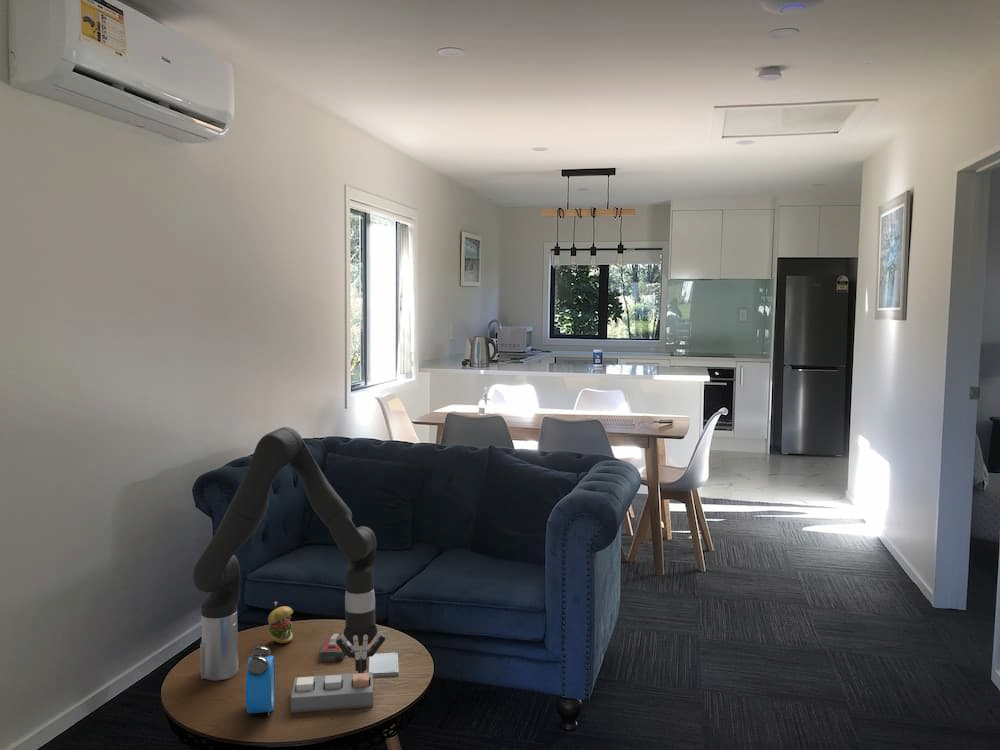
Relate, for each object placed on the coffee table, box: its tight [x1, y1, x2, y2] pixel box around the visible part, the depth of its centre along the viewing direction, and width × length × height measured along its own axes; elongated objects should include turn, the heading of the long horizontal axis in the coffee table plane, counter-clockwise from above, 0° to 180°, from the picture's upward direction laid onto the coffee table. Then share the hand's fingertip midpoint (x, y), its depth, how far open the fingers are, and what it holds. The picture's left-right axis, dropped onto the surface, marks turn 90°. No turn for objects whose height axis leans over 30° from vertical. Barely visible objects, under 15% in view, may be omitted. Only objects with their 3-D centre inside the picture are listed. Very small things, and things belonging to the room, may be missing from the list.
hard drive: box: [368, 652, 400, 678], centre depth 224 cm, size 2×8×12 cm
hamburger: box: [267, 601, 294, 644], centre depth 240 cm, size 8×7×12 cm
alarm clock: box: [245, 644, 276, 717], centre depth 199 cm, size 13×6×15 cm, turn 11°
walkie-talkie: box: [318, 633, 354, 662], centre depth 236 cm, size 9×4×20 cm
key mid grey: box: [325, 674, 342, 690], centre depth 205 cm, size 4×4×3 cm
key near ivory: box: [296, 676, 314, 692], centre depth 204 cm, size 4×4×3 cm
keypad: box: [290, 672, 374, 713], centre depth 205 cm, size 20×11×4 cm, turn 99°
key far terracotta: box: [353, 672, 369, 688], centre depth 206 cm, size 4×4×3 cm
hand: (361, 671), depth 206 cm, fingers closed
